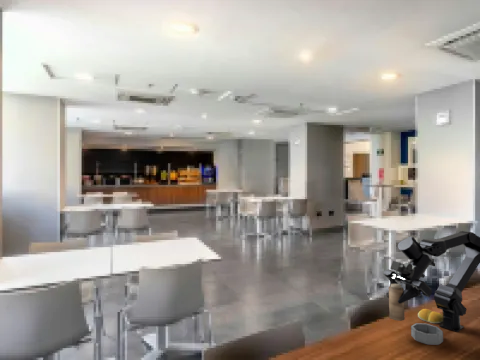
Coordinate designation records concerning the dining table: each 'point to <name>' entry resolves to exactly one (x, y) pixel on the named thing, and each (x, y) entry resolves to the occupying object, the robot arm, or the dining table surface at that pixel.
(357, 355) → the dining table surface
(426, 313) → the bread roll
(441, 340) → the bin
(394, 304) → the pepper mill
